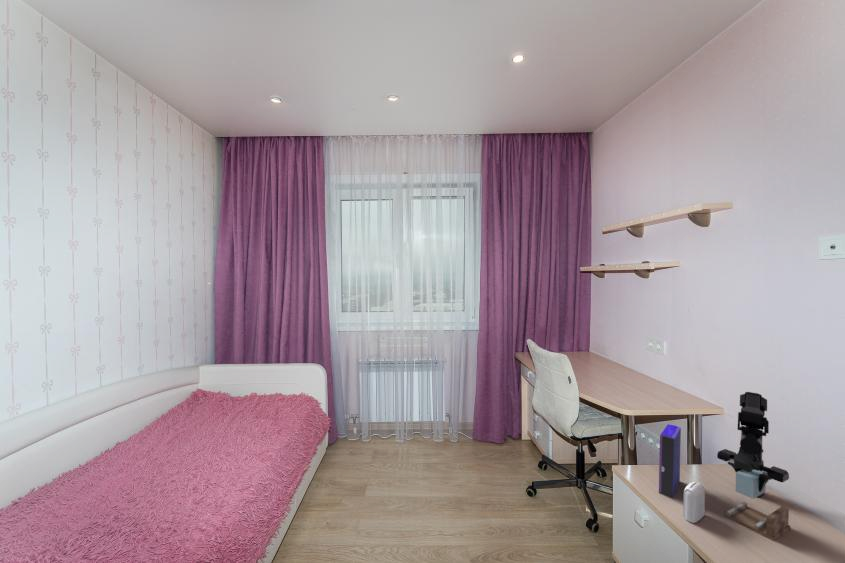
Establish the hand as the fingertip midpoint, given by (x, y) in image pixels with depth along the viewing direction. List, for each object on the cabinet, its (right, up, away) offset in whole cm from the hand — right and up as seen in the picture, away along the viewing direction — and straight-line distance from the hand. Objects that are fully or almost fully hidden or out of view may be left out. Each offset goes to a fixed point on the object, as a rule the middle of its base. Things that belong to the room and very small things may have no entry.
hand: (750, 487), depth 129 cm
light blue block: (0, -2, 0) cm, 2 cm away
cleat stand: (0, -12, -2) cm, 12 cm away
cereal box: (-16, -12, +20) cm, 28 cm away
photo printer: (-21, -12, 0) cm, 24 cm away
